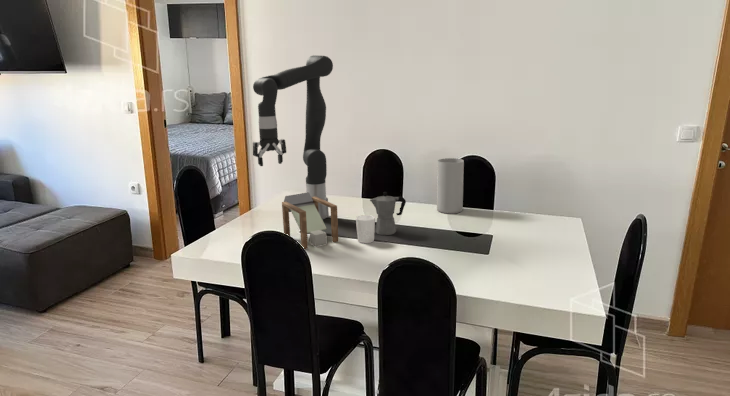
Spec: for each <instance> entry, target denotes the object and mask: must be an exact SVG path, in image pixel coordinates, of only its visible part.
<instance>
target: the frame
mask: <svg viewBox="0 0 730 396" xmlns="http://www.w3.org/2000/svg"><path fill="white" fill-rule="evenodd" d="M312 200H313V203H314V204H315V207H316V209H317V211H318V213H319V209H318V202H319V203H321V204H323V205H325V206H328V208H330V227H331V229H330V230H331V242H332V243H333V244H335V243H338V242H339V221H338V220H339V219H338V217H339V216H338V205H336V204H334V203H332V202H330V201H328V202H327V201H325V200H323V199H321V198H318V197H316V196H315V197H312ZM281 207H282V208H281V209H282V210H281V211H282V225H283V234H284V233H285V234H288V235H289V236H290V237H291V228H290V212H289V208H290V209H291V210H293V211H295V212H297V213H299V217H300V229H299V231H300V232H299V233H300V246H301V245H302V246H303V247H304V250H308V249H309V242H308V241H309V240H308V239H309V238H308V234H307V221H306V211H304V210H302V209H300V208H298V207H296V206H294V205H292V204H290V203H288V202H284V201H282V202H281Z"/></svg>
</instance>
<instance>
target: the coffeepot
mask: <svg viewBox="0 0 730 396" xmlns="http://www.w3.org/2000/svg"><path fill="white" fill-rule="evenodd" d="M382 193H383V195H380V196H377V197H374V198H371V199H369V201H370V202H371V204H372V205H373V206H374V208H375V213H376V214H377V218H376V221H375V234H377V235H378V236H379V235H380V236H390V235H394V234H396V233H397V227H396V221H395V218H394V214H395V210H396V209H395V208H396V203H397V202H401V203H400V208H399V212H397V213H396V216H401V215H403V210H404V209H405V206H406V202H407V201H406V199H405V198H404V197H403V196H391V195H388V192H387V191H384V192H382Z"/></svg>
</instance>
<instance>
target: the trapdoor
mask: <svg viewBox="0 0 730 396" xmlns="http://www.w3.org/2000/svg"><path fill="white" fill-rule="evenodd" d="M283 202H288V203H290V204H292V205H294V206H296V207H298V208H300V209H302V210H304V211H306V221H307V235H310V232H312V231H317V230H322V231H327V229H328V228H327V227H326V225H325V222H324V219H322V218H321V217H320V215H319V213H318V211H317V209H316V207H315V204H314V203H313V200H312V198H311V196H310V194H309V192H302V193H296V194H290V195H285V196H284V200H283ZM289 213H291V214H292V217H293V218H294V221H295V223H296V225H297V226H298V229H299V230H300V217H299V213H297V212H295V211H293V210H291V209H290V208H289Z"/></svg>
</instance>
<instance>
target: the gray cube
mask: <svg viewBox="0 0 730 396" xmlns="http://www.w3.org/2000/svg"><path fill="white" fill-rule="evenodd" d="M309 242H310V245H312V246H314V247H315V248H316V247H322V246H326V245H327V244H328V243H327V232H325V230H323V231H322V230H317V231H312V232H310V233H309Z"/></svg>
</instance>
